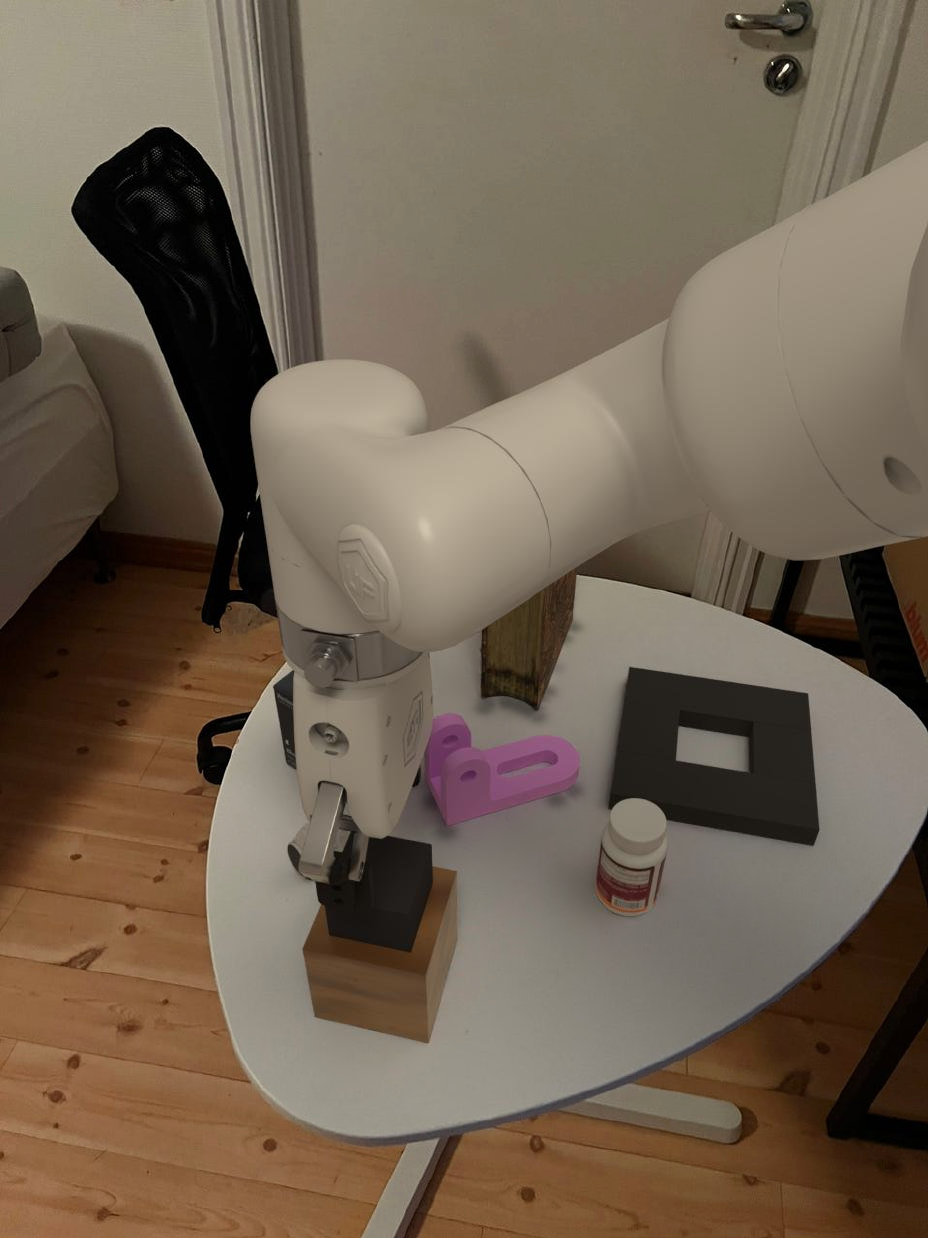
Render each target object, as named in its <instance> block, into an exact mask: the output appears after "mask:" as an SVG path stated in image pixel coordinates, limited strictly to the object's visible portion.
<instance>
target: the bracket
mask: <svg viewBox="0 0 928 1238" xmlns="http://www.w3.org/2000/svg"><path fill="white" fill-rule="evenodd" d="M544 762H545V763H546V762H548V763H551V764H552V765H549V766H546V767H545V766H544V767H541V768H539V769H535V770H533V771H532V770H531V771H528V772H525V773H521V774H518V775H514V776H511V777H505V776H502V775H503V774H506V773H509V772H512V771H516V770H520V769H523V768H526V767H529V766H534V765H537V764H540V763H544ZM423 765H424V780H425V782H426V784H427V786H428V789H429V790H430V793H431V794H432V797H433V799H434V801H435V803H436V805H437V807H438V809H439V812H440V814H441V816H442V818H443V820H444V822H445V825H446V826H447V827H449V826H452V825H456V824H459V823H463V822H466V821H469V820H472V819H476V818H479V817H481V816H486V815H489V814H492V813H495V812H498V811H502V810H505V809H509V808H512V807H516V806H519V805H522V804H526V803H529V802H532V801H535V800H538V799H539V800H540V799H542V798H545V797H548V796H552V795H555V794H559V793H562V792H565V791H566V790H568V789H570V788H571V787H572V786H573V785H574V784H575V783H576V782H577V780H578V778H579V775H580V773H579V771H580V765H581V758H580V753H579V751H578V749H577V748H576V747H575V746H574V745H573V744H572V743H571V742H569V741H568V740H566V739H564V738H562V737H560V736H556V735H550V734H541V735H535V736H531V737H527V738H524V739H520V740H517V741H513V742H509V743H506V744H504V745H503V744H502V745H498V746H496V747H491V748H487V749H485V750H480V749H479V748H476V747H472V732H471V730H470V728H469V726H468V725H467V722H466V721H465V719H464V717H462V715H461V714H458V713H453V712H448V713H442V714H440V715H438V716H435V718H434V719H433V726H432V730H431V734H430V738H429V741H428V744H427V746H426V749H425V752H424V755H423Z"/></svg>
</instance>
